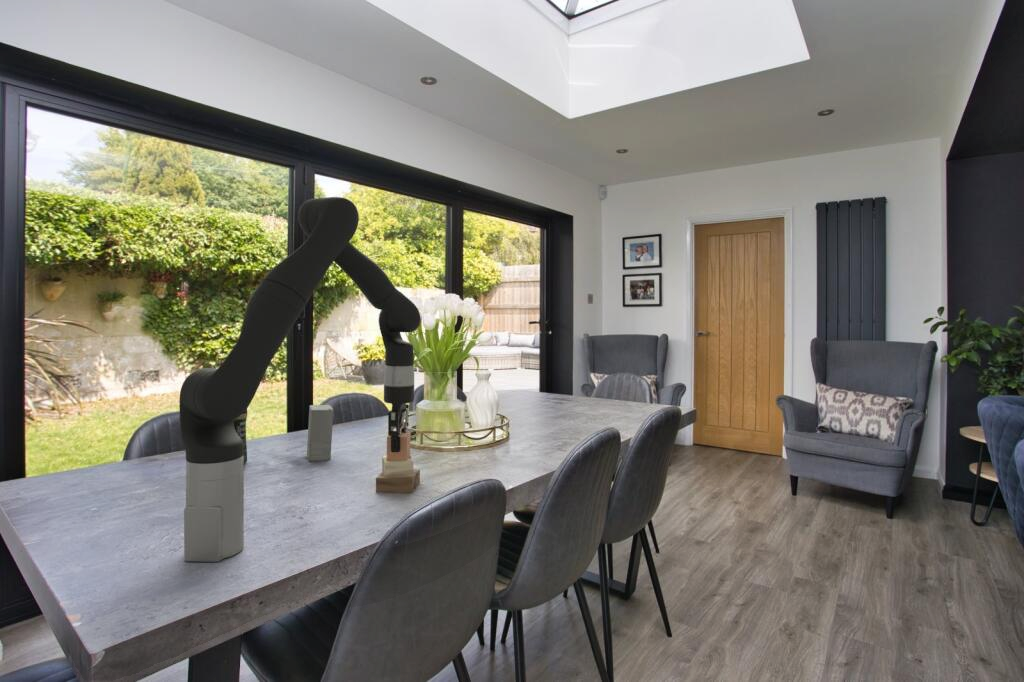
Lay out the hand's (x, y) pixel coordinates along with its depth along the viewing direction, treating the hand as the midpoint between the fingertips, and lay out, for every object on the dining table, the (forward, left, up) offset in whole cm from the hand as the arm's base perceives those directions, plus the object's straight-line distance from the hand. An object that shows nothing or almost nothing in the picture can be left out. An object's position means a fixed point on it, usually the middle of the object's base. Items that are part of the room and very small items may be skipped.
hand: (398, 448), depth 140 cm
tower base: (0, 0, -11) cm, 11 cm away
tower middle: (0, 0, -7) cm, 7 cm away
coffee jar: (+18, +52, -10) cm, 56 cm away
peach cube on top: (0, 0, -2) cm, 2 cm away
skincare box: (+29, +30, -10) cm, 43 cm away
